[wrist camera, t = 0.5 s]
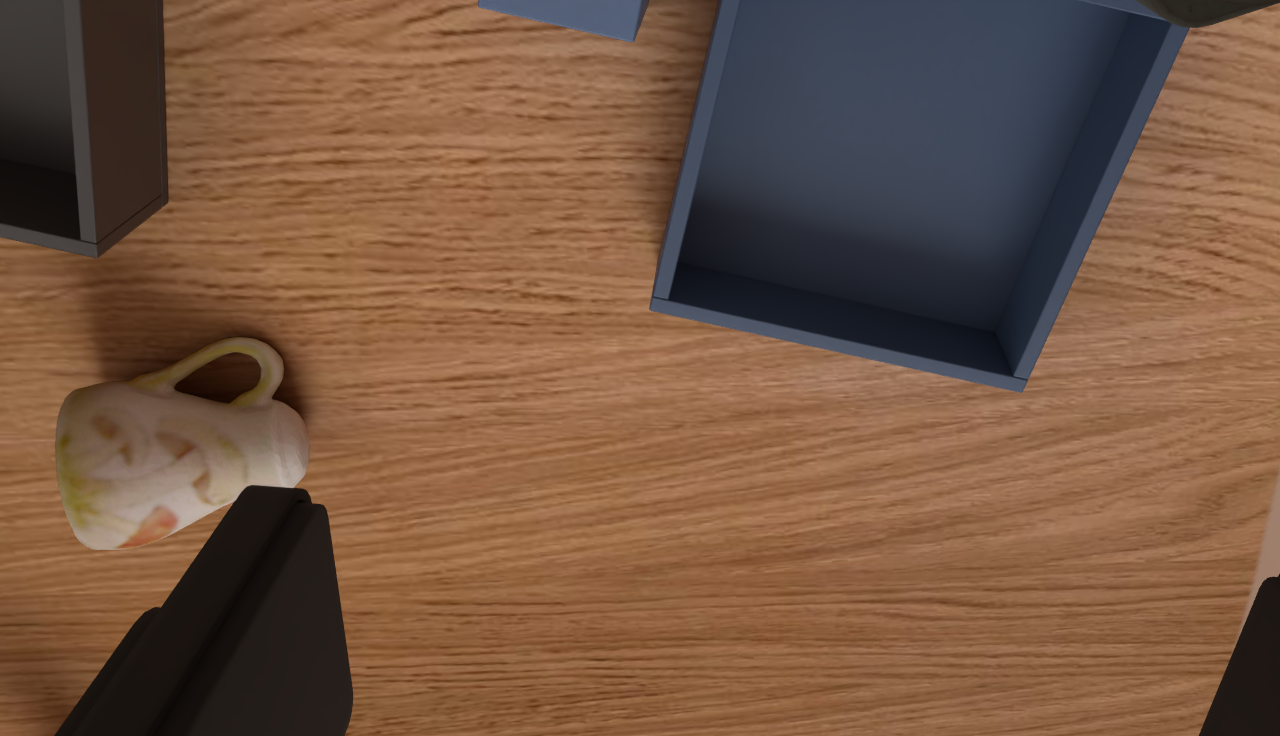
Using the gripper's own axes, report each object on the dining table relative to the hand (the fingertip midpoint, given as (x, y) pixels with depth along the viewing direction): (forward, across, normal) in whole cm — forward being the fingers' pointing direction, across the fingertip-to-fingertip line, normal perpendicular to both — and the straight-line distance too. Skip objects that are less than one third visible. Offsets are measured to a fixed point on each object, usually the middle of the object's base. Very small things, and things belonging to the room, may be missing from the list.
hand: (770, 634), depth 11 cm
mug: (+31, +23, +18) cm, 43 cm away
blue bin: (+31, -5, +4) cm, 31 cm away
